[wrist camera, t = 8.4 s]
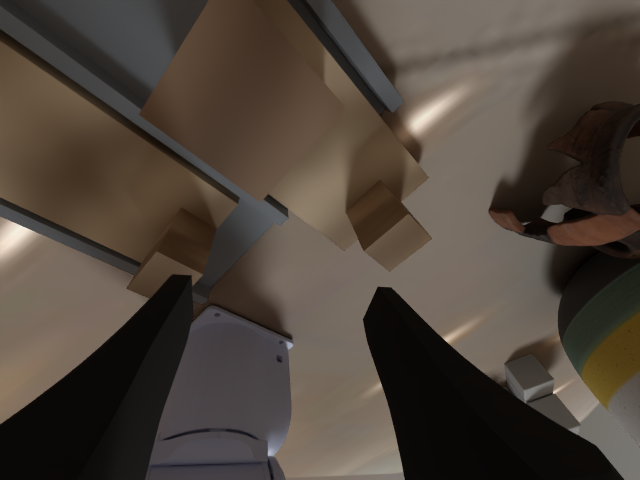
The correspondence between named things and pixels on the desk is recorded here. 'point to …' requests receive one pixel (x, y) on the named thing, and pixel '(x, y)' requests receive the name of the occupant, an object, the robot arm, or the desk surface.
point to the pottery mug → (590, 187)
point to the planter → (606, 334)
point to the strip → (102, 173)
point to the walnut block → (242, 97)
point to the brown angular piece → (350, 164)
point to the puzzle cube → (538, 390)
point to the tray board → (141, 79)
